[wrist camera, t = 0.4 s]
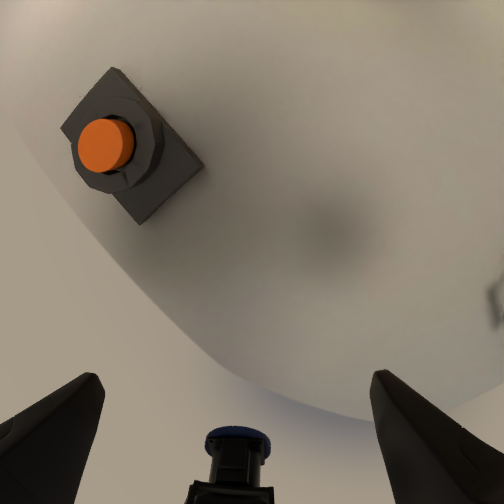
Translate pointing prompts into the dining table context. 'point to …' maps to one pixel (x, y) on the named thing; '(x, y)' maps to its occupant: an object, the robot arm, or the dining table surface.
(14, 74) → the dining table surface
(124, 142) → the button
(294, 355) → the dining table surface
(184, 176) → the control block
